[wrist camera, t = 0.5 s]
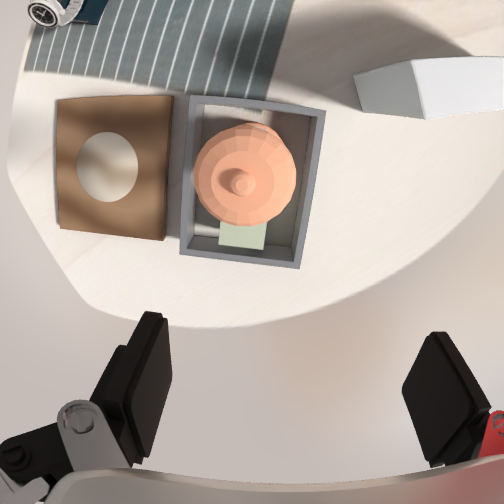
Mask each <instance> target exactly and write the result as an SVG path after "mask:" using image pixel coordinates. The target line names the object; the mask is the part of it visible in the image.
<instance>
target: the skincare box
mask: <svg viewBox="0 0 504 504" xmlns="http://www.w3.org/2000/svg"><path fill="white" fill-rule="evenodd" d="M353 78H354V81H355V85H356V89H357V93H358V97H359V101H360V104H361V107H362V110H363V112H364V113H376V114H386V115H395V116H403V117H411V118H419V119H424V120H430V119H437V118H444V117H450V116H456V115H463V114H471V113H478V112H487V111H496V110H504V57H499V56H464V57H443V58H426V59H412V60H407V61H403V62H399V63H395V64H391V65H387V66H383V67H380V68H376V69H373V70H369V71H365V72H361V73H357V74H354V75H353Z"/></svg>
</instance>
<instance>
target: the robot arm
mask: <svg viewBox="0 0 504 504" xmlns="http://www.w3.org/2000/svg"><path fill="white" fill-rule="evenodd" d="M171 382H172V365H171V355H170V344H169V331H168V320H167V318H163V316H162V314H161V313H156V312H149V311H145V312H144V314H143V315H142V317H141V319H140V321H139V323H138V325H137V327H136V329H135V330H134V332H133V334H132V336H131V338H130V340H129V342H128V344H127V346H125V345H119V346H118V347H117V348H116V350H115V352H114V354H113V356H112V357H111V359H110V361H109V363H108V365H107V367H106V369H105V370H104V372H103V374H102V376H101V378H100V380H99V382H98V384H97V386H96V388H95V390H94V392H93V394H92V396H91V398H90V400H89V401H88V400H74V401H71V402H69V403H67V404H66V405H64V406H63V407H62V408H61V409H60V411H59V412H58V416H57V422H56V423H53V424H50V425H47V426H44V427H41V428H39V429H36V430H33V431H30V432H27V433H24V434H21V435H17V436H15V437H11V438H9V439H7V440H5V441H4V442H2V444H0V504H35V503H36V502H37V501H40V502H44V504H504V411H501V410H499V411H498V410H497V411H494V412H492V413H491V414H490V413H489V412H488V411H489V410H490V409H491V405H490V403H489V402H488V400H487V398H486V396H485V394H484V392H483V391H482V389H481V387H480V385H479V384H478V382H477V380H476V379H475V377H474V375H473V374H472V372H471V370H470V368H469V367H468V365H467V364H466V362H465V360H464V359H463V357H462V355H461V354H460V352H459V351H458V349H457V348H456V346H455V344H454V343H453V341H452V340H451V339H450V337H449V335H448V334H447V333H446V332H431V334H430V335H429V336H427V337H426V339H425V341H424V343H423V345H422V347H421V349H420V351H419V353H418V356H417V358H416V360H415V362H414V364H413V366H412V368H411V370H410V372H409V374H408V376H407V378H406V380H405V382H404V383H403V386H402V394H403V397H404V400H405V403H406V406H407V408H408V411H409V413H410V416H411V419H412V422H413V425H414V428H415V430H416V434H417V436H418V439H419V442H420V445H421V448H422V451H423V454H424V457H425V460H426V461H429V464H430V467H431V468H433V467H438V466H442V465H443V464H445V467H441V468H436V469H432V470H427V471H422V472H417V473H411V474H405V475H399V476H393V477H385V478H378V479H370V480H361V481H349V482H336V483H313V484H273V483H272V484H271V483H251V482H237V481H225V480H214V479H205V478H197V477H189V476H183V475H176V474H171V473H163V472H156V471H150V470H142V469H133V468H132V466H133V463H137V464H142V461H143V458H144V457H147V458H148V457H149V455H150V452H151V449H152V445H153V442H154V439H155V435H156V432H157V428H158V425H159V421H160V418H161V415H162V411H163V408H164V405H165V401H166V398H167V395H168V391H169V388H170V385H171Z"/></svg>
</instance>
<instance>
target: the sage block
mask: <svg viewBox="0 0 504 504" xmlns="http://www.w3.org/2000/svg"><path fill="white" fill-rule="evenodd" d="M266 226H267V222H265V223H262V224H259V225H255V226H234V225H231V224H228V223H224V222H222V221H220V232H219V245H227V246H236V247H244V248H252V249H261V250H263V247H264V240H265V233H266Z"/></svg>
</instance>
